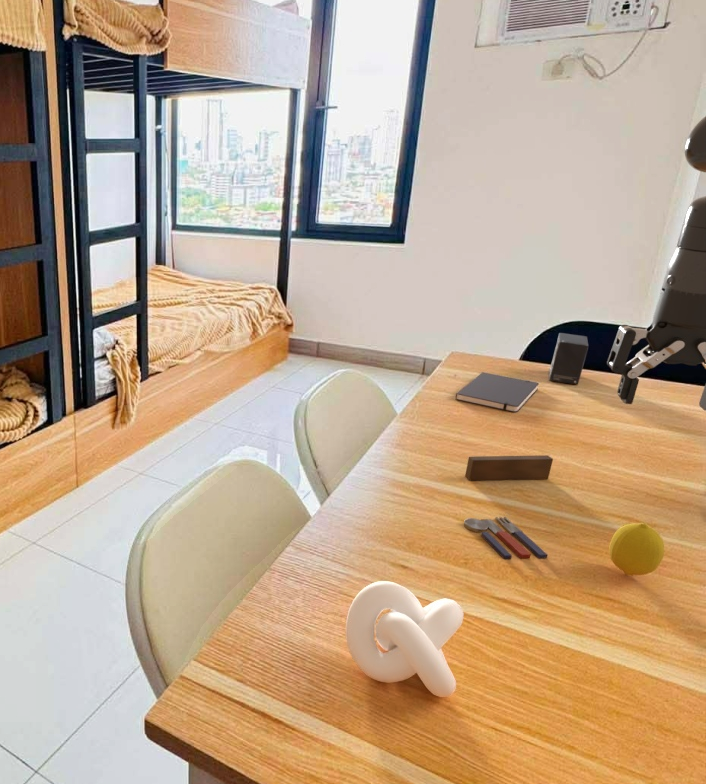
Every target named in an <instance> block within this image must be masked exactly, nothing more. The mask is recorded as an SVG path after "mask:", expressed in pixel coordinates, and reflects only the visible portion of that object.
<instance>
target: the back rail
mask: <svg viewBox="0 0 706 784" xmlns="http://www.w3.org/2000/svg"><path fill="white" fill-rule="evenodd" d="M553 461H554V458H552V457H551V456H550V455H547V454H545V455H543V454H542V455H498V456H497V455H488V456H487V455H486V456H485V455H484V456H481V455H480V456H477V455H476V456H468V459H467V465H466V469H465V475H464V478H465V479H467V480H468V481H517V480H518V481H520V480H524V481H526V480H549V477H550V473H551V469H552V464H553Z"/></svg>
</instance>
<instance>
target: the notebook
mask: <svg viewBox="0 0 706 784" xmlns="http://www.w3.org/2000/svg"><path fill="white" fill-rule="evenodd" d="M539 384H540V383H539V382H537V381H532V380H527V379H521V378H515V377H511V376H505V375H499V374H495V373H488V372H485V371H482V372H481V373H479V374H478V375H477V376H476V377H475V378H474V379H472V380H471V381H470V382H468V383H467V384H466V385H465V386H464V387H462V388H461V389H460V390H459V391H457V392H456V394H455V400H456V401H461V402H465V403H469V404H474V405H479V406H483V407H486V408H487V407H489V408H492V409H497V410H502V411H506V412H511V413H518V412H519V411H520V410H521V408H522V407H523V406H524V405H525V404H526V403H527V402H528V400H530V398H531V397H532V396H533V395H535V393H536V392H537V391H538V390H539V389H538V386H539Z"/></svg>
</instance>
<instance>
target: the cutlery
mask: <svg viewBox="0 0 706 784" xmlns="http://www.w3.org/2000/svg"><path fill="white" fill-rule="evenodd" d="M494 520H495V521H496V522H497V523H498V524H499V525H500V526H501V527H502V528H503V529H504V530H503V529H502V528H501V527H500V526H499V525H498V524H497V523H496V522H495V521H493V519H491V518H483V519H481V518H480V519H479V518H473V517H467V518H466V519H464V521H463V526H464V528H465V529H467V530H468V531H471V532H474V533H480V536H481V537H482V538H483V540H485V542H487V543H488V545H490V546H491V547H492V548H493V550H494V551H496V553H498V555H500V556H501V557H502V558H503V560H511V559H512V557H513V555H512V554H511V553H510V552H509V551H508V550H507V549H506V548H505V547H504V546H503V545H502V544H501V543H500V542H499V541H498V540H497V539H495V537H494V536H492V535H491V534H490V533H489V531H490V532H491V533H492V534H493V535H495V536H496V537H497V538H498V539H500V541H501V542H503V544H504V545H506V546H507V547H508V548H509V549H510V550H511V552H513V553H514V554H515V555H516V556H517V557H518V558H519V559H520V560H521V559H523V560H524V559H528V560H529V559H531V557H532V554H533V555H535V557H536V558H538V559H548V556H549V554H548V553H547V552H546V551H544V550H543V549H542V548H541V547H540V546H538V544H536V543H535V542H534V541H533V540H532V538H530V537H529V536H528V535H526V534H525V533H524V532H523V531H522V530H521V529H520V528H519V527H518V526H517V525H516V524H515V523H513V521H511V520H509V518H508V517H506V516H503V517H502V516H499V517H497V516H495V517H494ZM488 530H489V531H488ZM513 536H514V537H515V538H516V539H517V540H518V541H519V542H518V541H517V540H516V539H515V538H514V537H513ZM521 543H522V545H521ZM524 546H525V547H526V548H525V547H524ZM527 549H528V550H529V551H530V552H531V553H532V554H531V553H530V552H529V551H528V550H527Z"/></svg>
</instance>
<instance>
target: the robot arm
mask: <svg viewBox="0 0 706 784" xmlns="http://www.w3.org/2000/svg"><path fill="white" fill-rule="evenodd" d="M683 153H684V158H685V160H686V163H687V164H688V165H689V166H690V167H691V168H692V169H694V170H695V171H698V172H701V173H706V115H705V116H704V117H703V118H701V119H700V120H699V121H698V122H697V123H696V125H694V127H693V128H692V130H691V131H690V132H689V134H688V136H687V138H686V141H685V144H684V152H683ZM685 212H686V213H685V216H684V219H683V223H682V225H681V229H680V233H679V236H678V239H677V243H676V246H675V249H674V251H673V254H672V255H671V258H670V260H669V262H668V265H667V267H666V271H665V274H664V278H663V280H662V281H663V282H662V285H661V289H660V292H659V296H658V299H657V303H656V305H655V309H654V311H653V312H654V313H653V316H652V321H651V323H650V324H649V325H648V326H647V327H646V328H639V327H632V326H630V325H628V324H622V325H620V326H619V327H618V330H617V333H616V335H615V338H614V341H613V344H612V347H611V350H610V353H609V355H608V358H607V361H606V365H607V366H608V368H610V369H611V371H612V372H613V373H615V374H620V375H621V376H620V380H619V384H618V387H617V390H616V393H617V397H619V398H620V400H621V402H622V403H623V404H624V405H633V403H634V398H635V395H636V392H637V389H638V385H639V381H640V379H639V378H638V377H640V376H641V375H642V374H644V373H645V372H646V371H648V370H650V369H654V368H656V367H657V366H658V365H659V364H661V363H662V362H663V363H665V364H666V365H678V364H684V365H687V366H693V367H694V366H696V367H698V365H699V364H702V366H703V367H704V369H706V195H705V196H701V197H698V198H695V199H694V200H693V201H692V202H691V203H690V204H689V206H688V207H687V210H686V211H685ZM642 339H644V340H645V341H646V343H647V345H646V346H645V347H643V348H641V350H639V351H638V352H637V353H636V354H635V356H634V357H633V358H631V359H630V360H629V361H627V360H628V359H629V356H630V353H631V350H632V347H633V346H635V345H637V344H638V343H639V342H640V340H642ZM698 405H699V407H700V408H701V409H702V410H703V411H704V412H705V411H706V383H705V384H704V388H703V390H702V393H701V396H700V399H699V403H698Z"/></svg>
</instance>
